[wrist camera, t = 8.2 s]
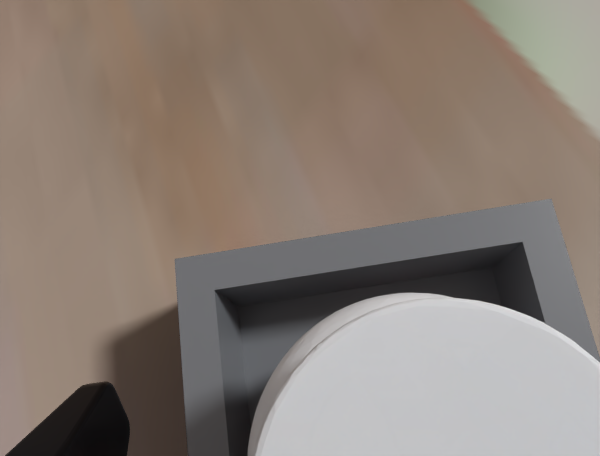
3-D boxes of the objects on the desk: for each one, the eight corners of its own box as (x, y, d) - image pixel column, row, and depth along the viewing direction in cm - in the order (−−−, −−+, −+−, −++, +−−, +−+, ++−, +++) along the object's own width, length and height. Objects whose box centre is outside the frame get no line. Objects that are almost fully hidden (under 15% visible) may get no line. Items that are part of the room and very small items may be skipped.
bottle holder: (600, 586, 14) (691, 659, 10) (243, 631, 15) (205, 716, 11) (507, 240, 17) (551, 198, 14) (212, 286, 18) (174, 258, 14)
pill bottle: (248, 437, 15) (87, 522, 6) (372, 291, 16) (406, 159, 7) (405, 593, 14) (529, 1044, 4) (530, 422, 15) (860, 487, 5)
